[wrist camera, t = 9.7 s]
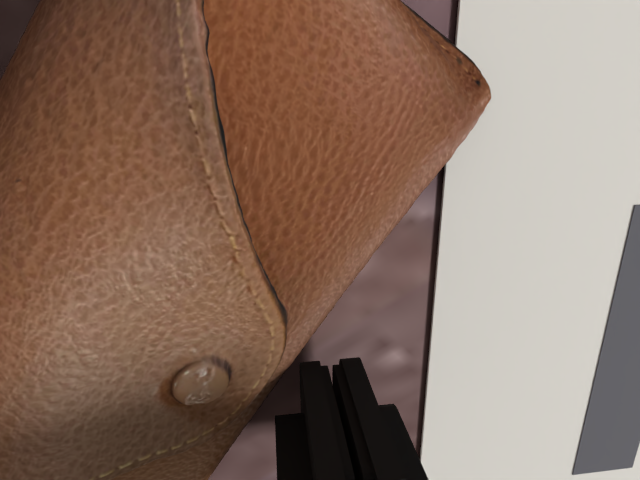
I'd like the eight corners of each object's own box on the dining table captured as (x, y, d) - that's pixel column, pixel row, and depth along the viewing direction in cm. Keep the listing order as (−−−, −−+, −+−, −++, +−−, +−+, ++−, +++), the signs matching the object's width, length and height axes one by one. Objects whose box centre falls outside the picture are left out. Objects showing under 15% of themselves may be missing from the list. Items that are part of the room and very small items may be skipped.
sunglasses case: (157, 577, 13) (-123, 891, 7) (27, 424, 15) (-288, 559, 9) (516, 72, 10) (619, -235, 3) (292, -45, 12) (92, -383, 5)
